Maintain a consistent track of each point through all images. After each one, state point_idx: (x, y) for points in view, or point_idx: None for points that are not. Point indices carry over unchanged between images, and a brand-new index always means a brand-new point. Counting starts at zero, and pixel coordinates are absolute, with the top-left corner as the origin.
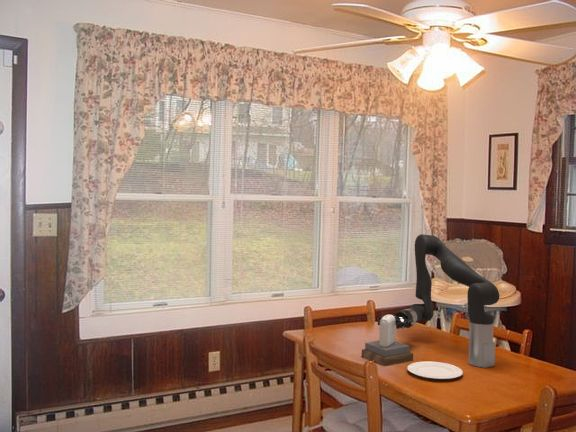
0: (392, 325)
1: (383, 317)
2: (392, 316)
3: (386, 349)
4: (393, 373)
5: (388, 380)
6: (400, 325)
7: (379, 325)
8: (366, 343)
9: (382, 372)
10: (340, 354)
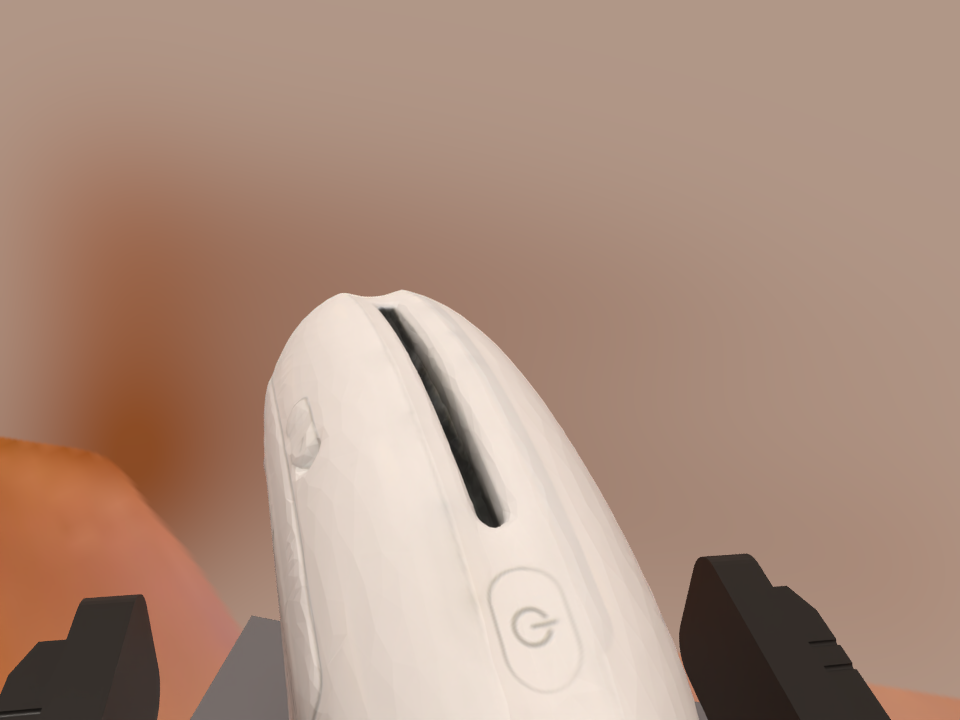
0: (283, 642)
1: (430, 301)
2: (340, 519)
3: (261, 649)
4: (73, 602)
5: (66, 470)
6: (13, 709)
7: (686, 654)
8: (700, 705)
9: (188, 564)
10: (926, 709)
